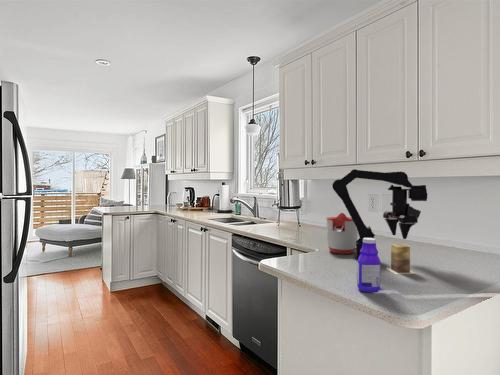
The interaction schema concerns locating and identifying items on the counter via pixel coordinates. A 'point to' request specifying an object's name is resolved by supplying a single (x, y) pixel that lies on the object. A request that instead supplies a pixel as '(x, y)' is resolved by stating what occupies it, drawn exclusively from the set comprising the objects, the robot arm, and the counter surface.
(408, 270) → the walnut block
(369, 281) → the bottle
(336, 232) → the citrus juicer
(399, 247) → the ochre block
